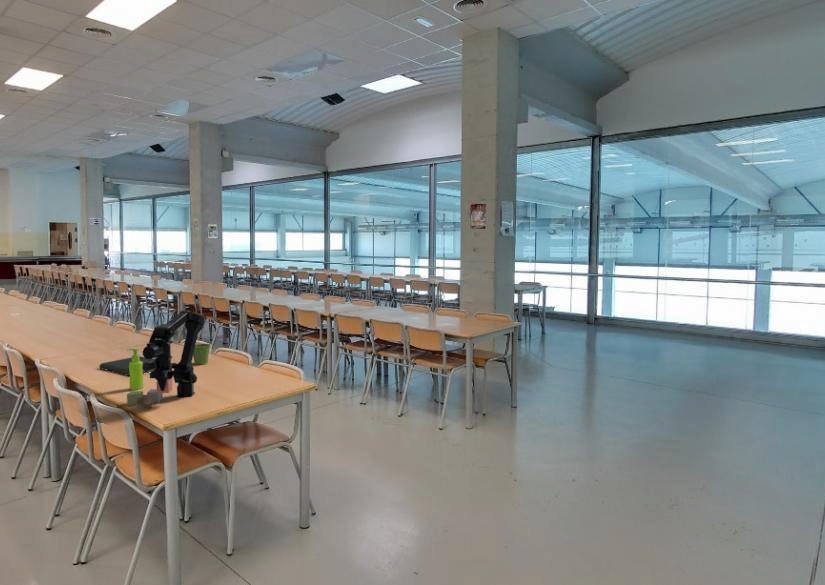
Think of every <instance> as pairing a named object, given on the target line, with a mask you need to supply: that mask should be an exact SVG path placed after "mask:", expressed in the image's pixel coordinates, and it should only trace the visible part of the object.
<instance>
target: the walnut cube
mask: <svg viewBox="0 0 825 585" xmlns="http://www.w3.org/2000/svg"><path fill="white" fill-rule="evenodd" d="M152 405H153V406H154V403H153V395H147V394H143V395H140V396H139V397H137V405H136V409H137V410H142V409H141V408H149V409H151V408H152V407H153V406H152ZM151 406H152V407H151ZM150 407H151V408H150Z"/></svg>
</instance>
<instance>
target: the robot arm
mask: <svg viewBox="0 0 825 585" xmlns="http://www.w3.org/2000/svg"><path fill="white" fill-rule="evenodd" d="M205 321H206V319H205V317H204V316H203V315H202V314H198V313H194V312H193V311H190V310H180V311H179V313H178V314H176V316H174V317H173V318H171V319H170V320H169V321H167V323H163V324H160V325H158V326H155V327H154V329H153V331H152V333H151V334H150V335H151V336H150V338H149V340H148V343H146V346H145V347H143V350H142V355H143V356H142V357H145V358H146V359H154V361H152V362H146V363H143V366H142V369H143V370H144V371H145V372H147V371H149V370H152V369H154V371H152V372H151V373H149V379H155V380H156V382H157V381H158V383H159V386H160V389H161V391H164V389H165V386H166V383H167V380H168V379H172V380H174V383H175V384H177V386H176V397H178V398H182V397H183V398H185V397H193V395H194V394H195V393H196V391H194V390H195V388H194V386H195V385H194V384H196V382H197V380H198V376H197V375H196V374H195V373H194V369H195V368H194V367H193V363H192V362H193V359H194V357H193V353H194V349H195V344H197V340H198V334H199V333H200V332H201V331H202V330H203V328H204V325H205ZM183 325H184V327H185V330H186V334H185V340H184V344H183V348H182V352H181V356H180V357H181V358H180V361H179V362H178V363H176V362H172V359H173V356H172V354H171V352H172V350H171V347H172V346H171V344H174V340H172V338H173V337H174V336H175V332H176V331H177V330H178V329H179V328H181V326H183Z"/></svg>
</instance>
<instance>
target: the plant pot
mask: <svg viewBox="0 0 825 585" xmlns="http://www.w3.org/2000/svg"><path fill="white" fill-rule="evenodd" d="M211 346H212V344H211V343H196V344H195V349H194V353H193V362H194V364H195V365H197V364H199V365H202V364H203V365H206V364H205V363H207V364H208V361H209V355H210V350H211Z"/></svg>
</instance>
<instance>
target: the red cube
mask: <svg viewBox="0 0 825 585" xmlns="http://www.w3.org/2000/svg"><path fill="white" fill-rule="evenodd" d="M156 389H157V393H163V394H169V393H171V392H172V391H173V378H172V379H168V380H167V383H166V386H165V389H164V391H161V389H160V386H159V383H158V381H157V380H156Z"/></svg>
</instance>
